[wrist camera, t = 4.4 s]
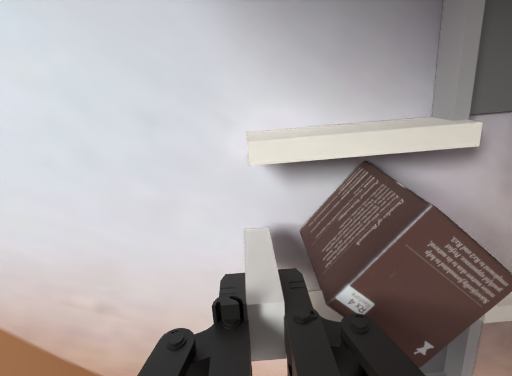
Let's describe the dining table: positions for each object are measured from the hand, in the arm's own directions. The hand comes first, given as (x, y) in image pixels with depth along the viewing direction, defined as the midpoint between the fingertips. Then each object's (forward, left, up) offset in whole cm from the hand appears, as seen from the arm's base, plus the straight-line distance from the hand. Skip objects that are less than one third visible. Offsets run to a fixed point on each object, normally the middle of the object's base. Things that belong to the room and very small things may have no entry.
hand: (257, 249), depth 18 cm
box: (0, +7, -2) cm, 7 cm away
